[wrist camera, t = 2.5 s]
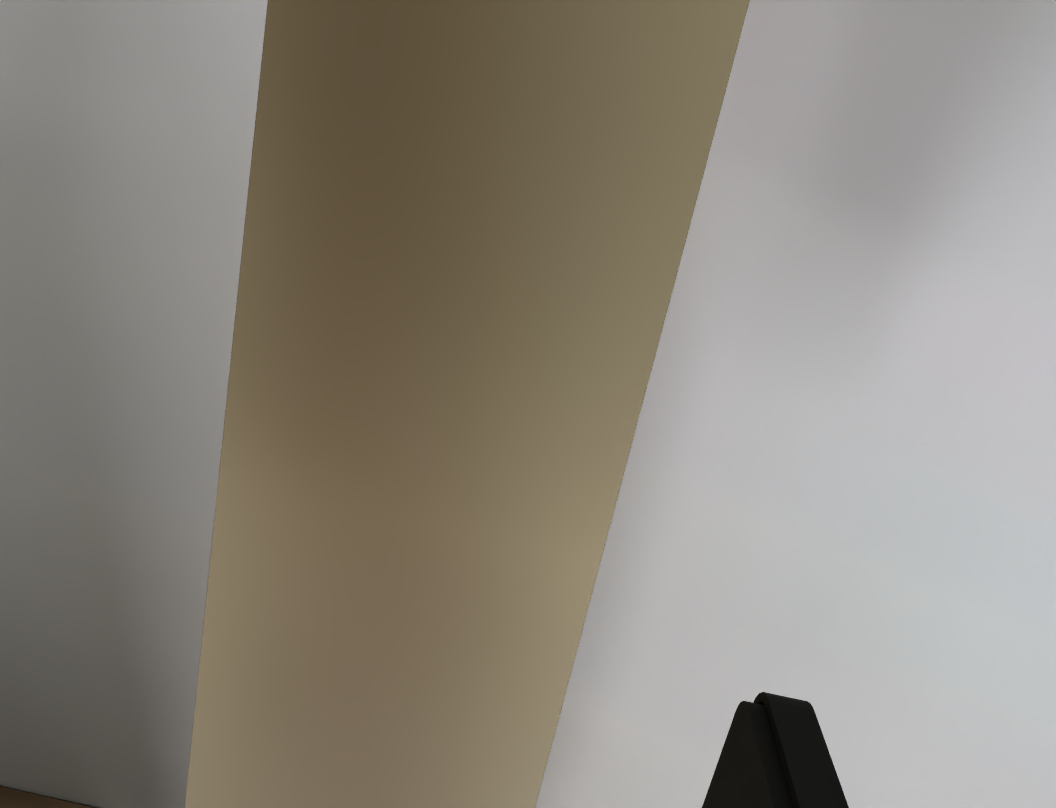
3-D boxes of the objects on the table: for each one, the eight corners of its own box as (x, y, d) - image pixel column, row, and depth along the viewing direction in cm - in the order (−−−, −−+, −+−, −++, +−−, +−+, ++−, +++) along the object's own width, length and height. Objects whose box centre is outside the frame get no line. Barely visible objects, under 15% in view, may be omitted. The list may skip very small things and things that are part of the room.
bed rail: (741, -202, 12) (872, -460, 6) (436, 1039, 19) (365, 1446, 13) (462, -264, 12) (327, -578, 6) (266, 1001, 19) (124, 1392, 13)
